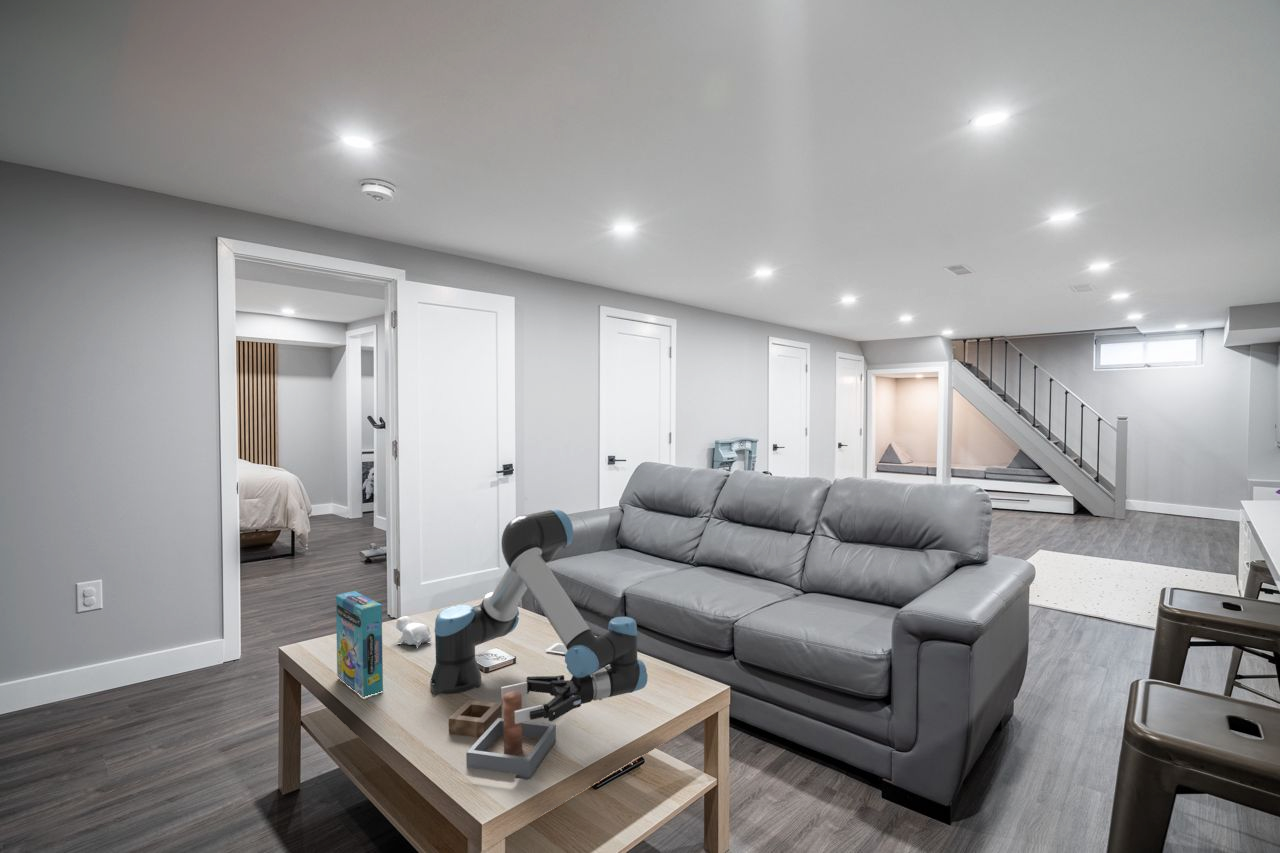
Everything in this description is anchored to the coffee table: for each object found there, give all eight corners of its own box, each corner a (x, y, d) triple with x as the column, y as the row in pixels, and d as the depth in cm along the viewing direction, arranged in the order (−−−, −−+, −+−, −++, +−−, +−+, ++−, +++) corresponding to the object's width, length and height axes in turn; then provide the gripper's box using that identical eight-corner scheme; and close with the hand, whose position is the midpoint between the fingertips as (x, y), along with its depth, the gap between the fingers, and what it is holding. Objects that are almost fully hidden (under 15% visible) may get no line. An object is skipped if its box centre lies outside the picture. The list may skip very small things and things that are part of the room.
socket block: (448, 737, 153) (448, 718, 153) (468, 717, 162) (468, 700, 162) (484, 741, 150) (483, 722, 150) (502, 721, 160) (501, 703, 160)
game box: (336, 679, 187) (334, 595, 187) (356, 673, 192) (354, 590, 191) (362, 700, 173) (360, 609, 173) (384, 692, 178) (382, 603, 177)
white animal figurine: (431, 649, 219) (406, 627, 226) (436, 629, 217) (411, 608, 224) (411, 657, 211) (386, 634, 219) (416, 637, 210) (391, 615, 217)
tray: (466, 770, 138) (466, 752, 138) (498, 734, 154) (498, 717, 154) (529, 779, 134) (529, 760, 134) (556, 741, 150) (555, 724, 150)
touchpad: (556, 645, 214) (556, 639, 214) (593, 651, 208) (593, 645, 208) (544, 653, 207) (544, 647, 207) (582, 660, 201) (582, 653, 201)
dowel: (500, 756, 142) (499, 699, 142) (509, 746, 147) (508, 690, 146) (517, 758, 141) (516, 701, 141) (525, 748, 146) (524, 692, 145)
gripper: (608, 722, 141) (521, 745, 132) (573, 681, 164) (496, 698, 154) (608, 691, 141) (521, 712, 132) (573, 654, 164) (496, 669, 154)
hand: (507, 704), depth 143 cm, fingers open, 13 cm apart
